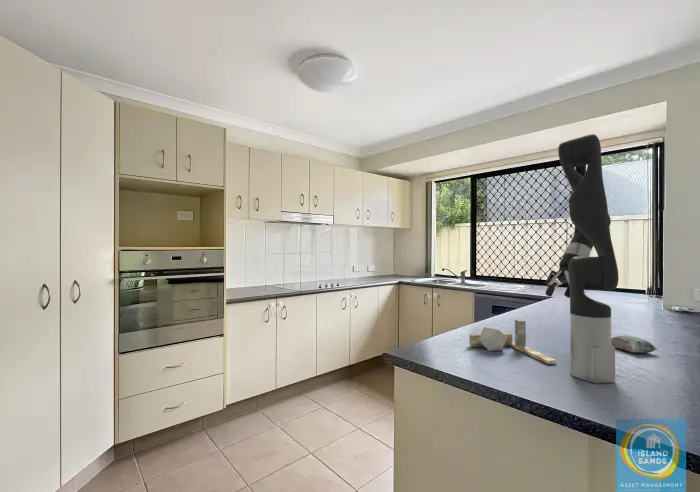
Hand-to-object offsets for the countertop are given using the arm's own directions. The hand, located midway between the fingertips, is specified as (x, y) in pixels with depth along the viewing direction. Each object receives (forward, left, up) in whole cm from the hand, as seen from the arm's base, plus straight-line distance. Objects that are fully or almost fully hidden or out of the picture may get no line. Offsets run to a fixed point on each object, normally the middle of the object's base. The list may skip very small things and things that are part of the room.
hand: (557, 296), depth 117 cm
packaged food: (-6, -22, -19) cm, 30 cm away
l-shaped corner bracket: (-4, +21, -18) cm, 28 cm away
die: (+2, +24, -19) cm, 30 cm away
